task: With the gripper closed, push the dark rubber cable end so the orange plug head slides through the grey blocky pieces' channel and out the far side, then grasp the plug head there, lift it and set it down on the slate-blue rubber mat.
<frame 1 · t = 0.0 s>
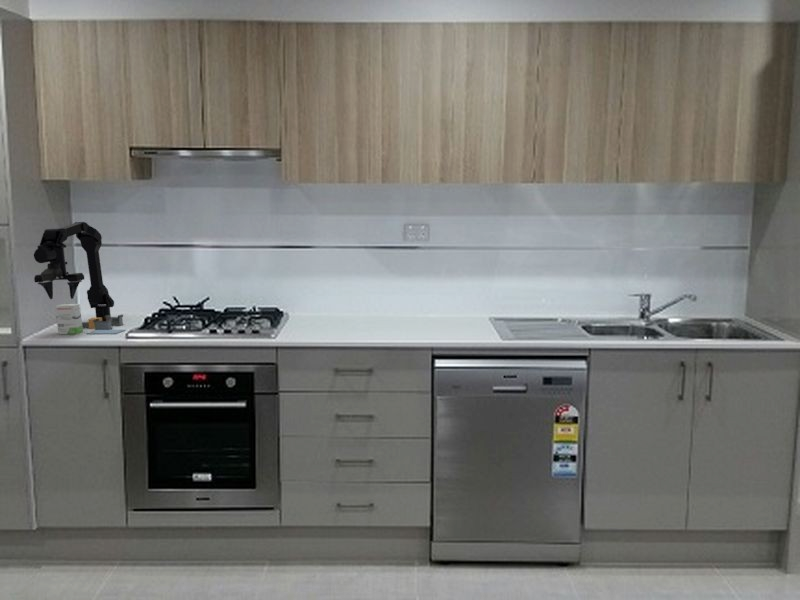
hand: (61, 298, 312), 15 cm above the worktop, fingers open, 9 cm apart
plug: (96, 327, 327), on the worktop
mat: (106, 332, 315), on the worktop
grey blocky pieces: (109, 327, 326), on the worktop
ink box: (70, 333, 318), on the worktop
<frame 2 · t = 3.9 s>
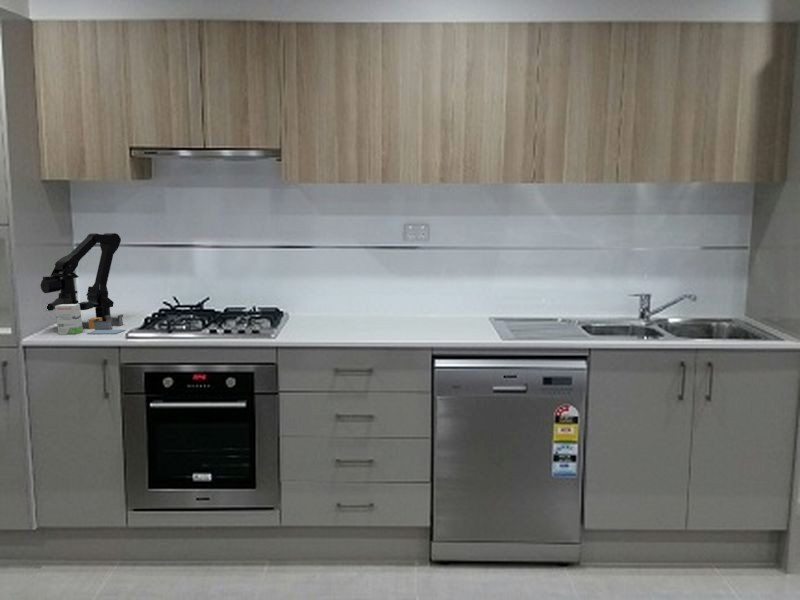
hand: (72, 326, 329), 1 cm above the worktop, fingers closed
plug: (96, 327, 327), on the worktop, touching gripper
everything else where it was.
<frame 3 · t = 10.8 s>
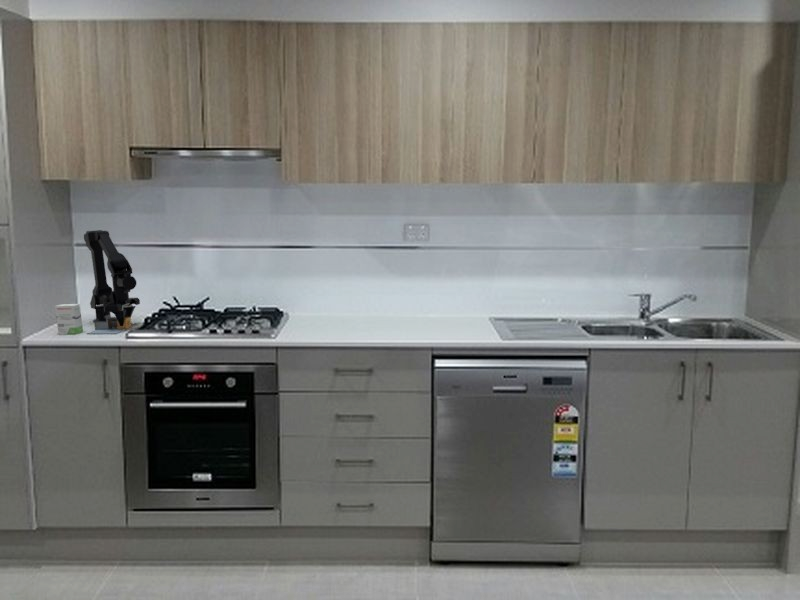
hand: (124, 324, 324), 1 cm above the worktop, fingers closed on plug, 4 cm apart
plug: (124, 327, 325), on the worktop, touching gripper
everything else where it was.
when the fingers open (2 cm above the worktop, at t = 14.8 s): plug stays where it is, resting on mat.
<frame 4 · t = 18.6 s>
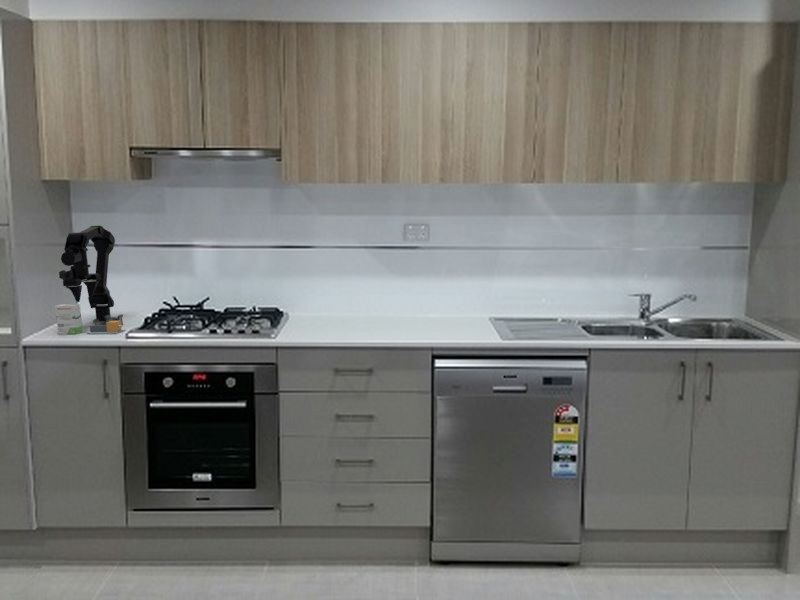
hand: (84, 300, 324), 12 cm above the worktop, fingers open, 9 cm apart
plug: (114, 331, 315), resting on mat
everything else where it was.
at the end: plug inside the target area (0.6 cm from its centre), resting on mat; the gripper is holding nothing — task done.
